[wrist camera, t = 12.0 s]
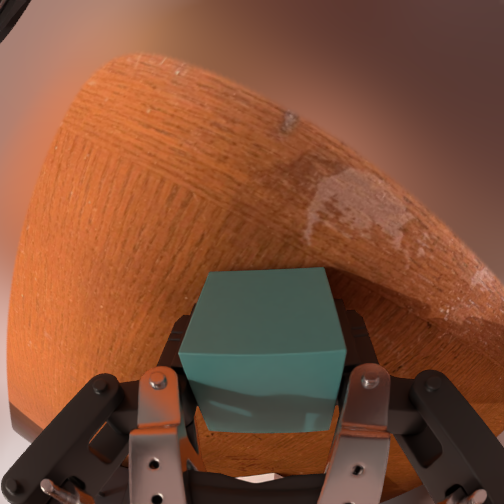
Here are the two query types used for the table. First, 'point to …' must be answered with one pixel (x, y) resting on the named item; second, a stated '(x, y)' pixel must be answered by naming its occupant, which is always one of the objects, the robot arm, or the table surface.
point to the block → (265, 351)
